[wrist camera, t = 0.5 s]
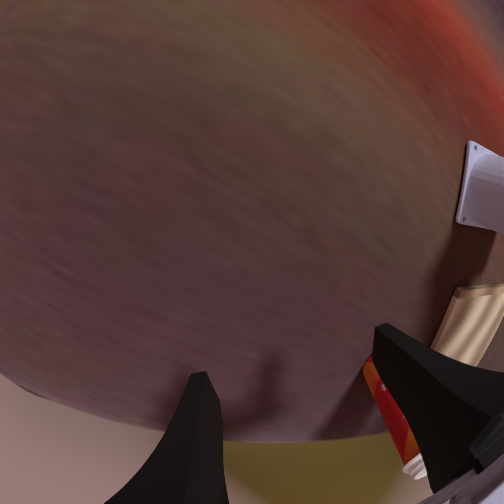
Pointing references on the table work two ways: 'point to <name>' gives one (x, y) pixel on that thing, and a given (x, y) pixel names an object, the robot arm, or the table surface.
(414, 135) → the table surface
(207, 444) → the robot arm
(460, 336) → the birch board
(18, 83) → the table surface
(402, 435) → the paper cup
